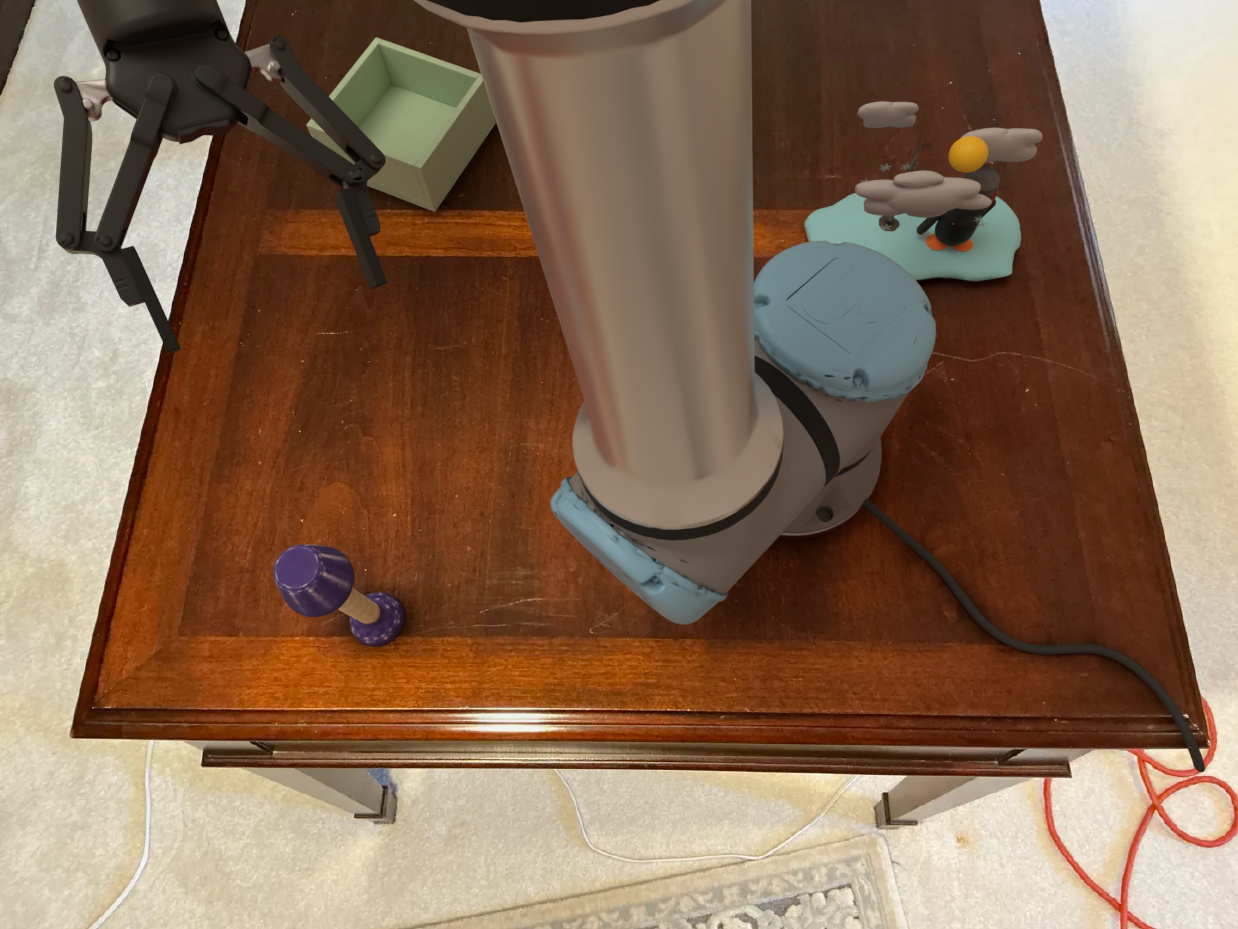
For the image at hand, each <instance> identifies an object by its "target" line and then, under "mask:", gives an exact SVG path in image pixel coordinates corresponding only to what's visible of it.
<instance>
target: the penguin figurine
mask: <svg viewBox="0 0 1238 929" xmlns="http://www.w3.org/2000/svg"><path fill="white" fill-rule="evenodd" d="M918 112H919V105H918V104H917V103H915V102H910V101H894V102H891V101H886V100H885V101H883V100H881V101H880V100H879V101H873V102H870V103H866V104H863V105H862V106H860V107H859V108H858V110H857V117H859V118H861V119H862V123H863V124H862V125H863V127H865V128H868V129H882V128H887V127H890V128H907V127H908V128H909V127H912V126H914V125H915V123H916V121H917V116H916V115H915V113H918ZM918 128H919V130H920V131H919V132H922V128H921V126H918ZM928 129H929V126H928V127H927V129H926V131H925V133H924V134H923V136H920V138H921V143H920V146H919V150H917V151H915V152H914V153H912V154H911V152H912V150H909V153H908V151H906V150H904V149H903V148H902V146H901V145H900V143H899V146H900V147H898V149H901V150H903V152H904V153H906V154H908V159H906V161H907V162H906V164H901V166H902V167H900V170H903V173H902V172H901V173H899V174H897V175H895V176H894V177H893V179H874V180H868V179H867V178H865V179H864V180H860V182H859V183H857V184H856V185H855V187H854V193H851V194H849V195H847V196H846V197H843V198H842V199H841V200H839V201H837V202H836V203H834V204H832V205H830V206H826V207H821V208H818V209H816V210H814V211H812V212H811V213H810V214H809V215H808V216H807V217H806V219H805V221H804V230H805V234H806V237H807V242H813V241H828V242H830V243H833V244H841V243H843V242H849V243H854V244H858V245H861V246H864V247H867V248H870V249H872V250H874V251H877V252H879V253H881V254H883V255H885V256H887V257H888V258H890V259H892V260H893V261H895V262H896V263H897V264H899V265H900V266H901V267H903V268H904V269H905V270H906V271H907V272H908V273H909V274H910V275H911V276H912V277H913V278H914V279H915V280H916V281H917V282H918V281H923V280H930V279H937V278H941V279H954V280H955V279H956V280H962V281H967V282H968V281H969V282H981V281H989V280H994V279H999V278H1001V279H1002V278H1005V277H1008V276H1010V275H1012V274H1013V262H1014V260H1015V259H1014V258H1015V254H1016V251H1017V250H1018V249H1019V248H1020V247H1021V242H1022V231H1021V223H1020V220H1019V218H1018V216H1017V215H1016V213H1015V212H1014V211H1013V209H1012V208H1011V207H1010V206H1009V204H1007V202H1006V201H1004V200H1003V199H1002V198H1000V197H998V196H997V190H996V189H997V188H998V186H999V183H1000V175H999V173H998V172H997V171H996V169H994V168H993V167H991V166H989V165H987V164H985V163H993V162H999V161H1000V162H1004V163H1019V162H1020V163H1021V162H1026V161H1029V160H1031V159H1033V158H1035V156H1036V154H1037V150H1038V148H1037V146H1036V144H1037V143H1041V142H1042V140H1043V133H1042V132H1041V131H1040V130H1038V129H1035V128H1022V127H1021V128H1018V127H1017V128H1015V127H1014V128H1003V127H985V128H980V129H975V130H971V131H968V132H966V133H965V134H963V135H962V136H961V137H960V138H959V139H957V140H956V141H955V142H953V144H952V145H951V147H950V149H949V151H948V156H947V158H948V162H949V164H950V166H951V168H952V169H954V170H955V171H957V172H959V173H963V174H964V175H963V177H953V176H951V177H950V176H943V175H942V174H940V173H939V172H937V171H932V170H920V169H922V168H924V169H927V165H926V166H924V165H923V164H924V163H926V160H923V163H922V164H921V166H920V165H918V162H920V160H918V158H919V156H920V154H921V152H922V149H924V147H927V146H928V147H930V149H931V150H933V151H934V149H933V148H931V146H932V147H933V146H934V144H932V143H933V142H934V141H936V139H937V137H939V135H940V134H939V135H937V137H935V138H934V139H933V140H931V141H930V142H928V143H927V142H925V143H924V140H925V135H926V133H927V131H928ZM908 144H909V145H908V146H911V145H910V143H908ZM911 156H912V157H913V159H912V163H911ZM890 168H891V165H888V163H885V164H884V165H882V164H881V167H880V168H879V169H878V171H881V172H882V173H884V171H890ZM913 168H914V169H913ZM906 170H907V171H906Z"/></svg>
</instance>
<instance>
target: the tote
mask: <svg viewBox="0 0 1238 929" xmlns="http://www.w3.org/2000/svg"><path fill="white" fill-rule="evenodd" d="M328 96H329V97H330V98H331V99H332V100H333V101H334V103H335V104H336V105H337V106H338V107H339V108H340V109H341V110H342V111H343V112H344V113H345V114H346V115H347V116H348V117H349V118H350V119H351V120H352V121H353V122H354V123H355V124H356V126H357V127H358V128H359V129H360V130H361V131H362V132H363V133H364V134H365V135H366V136H367V137H368V138H369V139H370V140H371V141H372V142H373V143H374V144H375V145H376V146H377V148H378V149H379V150H380V151H381V152H382V153H383V154H384V156H385V159H386V162H385V165H384V166H383V167H382V168H381V170H380V171H379V172H378V173H377V174H376V175H374V176H373V177H371V178H370V179H369V180H368V181H367V187H369V188H371V189H374V190H377V191H379V192H381V193H385V194H387V195H390V196H392V197H395V198H398V199H400V200H403V201H405V202H408V203H410V204H413V205H416V206H418V207H421V208H424V209H426V210H429V211H430V212H434V213H435V212H436V211H437V210H438V209H439V207H440V206H441V204H443V201H444V200H445V198H446V197H447V195H448V194H449V192H450V191H451V189H452V188H453V187H454V186H455V184H456V182H457V181H458V179H459V178H460V176H461V175H462V173H463V172H464V170H465V169H466V167H467V166H468V165H469V163H470V162H471V160H472V159H473V157H474V156H475V154H476V153H477V151H478V150H479V149H480V147H481V146H482V144H483V143H484V142H485V140H486V138H487V137H488V135H489V134H490V132H491V131H492V130H493V128H494V127H495V125H497V123H496V119H495V116H494V113H493V110H492V107H491V104H490V100H489V97H488V94H487V91H486V88H485V85H484V81H483V78H482V75H481V72H480V73H479V72H477V71H474V70H471V69H468V68H465V67H462V66H459V65H457V64H454V63H451V62H448V61H445V60H442V59H440V58H436V57H433V56H432V55H428V54H425V53H423V52H420V51H416V50H414V49H411V48H408V47H406V46H403V45H399V44H396V43H394V42H391V41H388V40H386V39H382V38H380V37H375V38H374V39H373V40H372V41H371V42H370V43H369V45H368V47H367V48H366V49H365V50H364V52H363V53H362V54H361V55H360V57H359V58H358V59H357V60H356V62H355V63H354V64H353V65H352V66H351V68H350V69H349V70H348V72H347V73H346V74H345V76H343V78H342V79H341V80H340V82H339V83H338V84H337V86H335V88H334V89H333V90H332V92H331V93H330V94H329V95H328ZM306 128H307V130H308V132H309V135H310V136H312V137H313V138H315V139H316V140H318V141H319V142H321V143H322V144H324V145H325V146H327V147H328V148H330V149H331V150H333V151H334V152H336V153H337V154H339V155H340V156H342V157H343V158H345V159H347V160H348V161H350V162H351V163H353V164H355V162H354V161H353V160H352V159H351V158H350V157H349V156H348V155H347V154H346V153H345V152H344V151H343V150H342V149H341V148H340V147H339V146H338V145H337V144H336V143H335V142H334V141H333V140H332V139H331V138H330V137H329V136H328V135H327V134H326V133H325V132H324V131H323V130H322V129H321V128H320V127H319V126H318V125H317V124H316V123H315V121H314V120H313V119H312V118H311V117H310V120H309V121H308V122H307V123H306Z"/></svg>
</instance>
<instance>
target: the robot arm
mask: <svg viewBox="0 0 1238 929" xmlns="http://www.w3.org/2000/svg"><path fill="white" fill-rule="evenodd" d="M413 1H414V2H415V3H416V4H418V5H419V6H421V7H422V8H424V9H425V10H427V11H429V12H430V13H432V14H434V15H437V16H439V17H441V18H444V19H445V20H448V21H450V22H452V23H454V24H457V25H459V26H461V27H464V28H466V31H467V34H468V37H469V40H470V43H471V47H472V50H473V52H474V56H475V58H476V63H477V66H478V68H479V72H480V74H481V75H482V78H483V81H484V85H485V88H486V91H487V94H488V97H489V100H490V104H491V107H492V110H493V113H494V117H495V122H496V126H497V128H498V132H499V135H500V137H501V142H502V145H503V148H504V151H505V154H506V157H507V160H508V163H509V166H510V169H511V174H512V176H513V179H514V182H515V185H516V189H517V193H518V195H519V198H520V201H521V205H522V208H523V211H524V214H525V218H526V221H527V224H528V227H529V231H530V234H531V236H532V240H533V242H534V246H535V249H536V252H537V256H538V259H539V262H540V265H541V268H542V271H543V275H544V277H545V281H546V284H547V288H548V289H549V293H550V297H551V299H552V303H553V306H554V310H555V312H556V316H557V319H558V322H559V325H560V328H561V332H562V335H563V338H564V341H565V344H566V347H567V351H568V355H569V357H570V360H571V363H572V366H573V369H574V372H575V376H576V380H577V382H578V385H579V388H580V389H579V390H580V391H581V395H582V398H583V402H582V403H581V405H580V407H579V410H578V412H577V415H576V417H575V422H574V425H573V430H572V431H573V432H572V434H571V435H572V438H571V440H572V445H571V446H572V447H571V448H572V454H573V460H574V465H575V468H576V470H577V471H576V473H574V474H573V475H572V476H567V477H565V478H564V479H563V480H561V483H560V487H559V488H558V489H557V490H556V491H555V493H554V494H553V495H552V496H551V498H550V509H551V512H552V513H553V515H554V516H555V518H556V519H557V521H559V523H561V525H562V526H563V527H564V528H565V529H566V530H567V531H568V532H569V533H570V535H572V536H573V537H574V539H575V540H576V541H578V542H579V543H580V544H581V545H582V546H583V547H584V548H585V549H586V550H587V551H588V552H589V554H591V556H593V557H594V558H595V559H596V560H597V561H598V562H599V563H600V564H601V565H602V566H604V567H605V568H606V569H607V570H608V572H610V573H611V574H612V575H613V576H614V577H616V578H617V580H619V581H620V583H622V584H623V585H624V586H626V587H627V588H628V589H629V590H630V591H631V592H632V593H633V594H635V595H636V596H638V598H639V599H641V600H642V601H643V602H644V603H646V604H647V605H648V606H649V607H650V608H652V609H653V610H654V611H655V612H657V613H658V614H659V615H660V616H662V617H663V618H665V619H666V620H668V621H669V622H672V623H673V624H678V625H683V626H684V625H690V624H693V623H695V622H697V621H699V620H700V619H701V618H702V617H704V616H705V615H706V613H708V612H709V611H710V610H711V609H713V608H714V607H715V606H716V605H717V604H718V603H721V602H723V601H725V600H726V599H727V597H728V595H729V591H730V590H731V588H733V587H734V586H735V584H737V582H738V581H739V580H740V579H741V578H742V577H743V576H744V574H745V573H746V572H747V571H749V569H751V567H753V565H754V564H755V563H756V562H757V561H758V560H759V558H761V557H762V556H763V554H764V553H765V552H766V551H767V550H768V549H769V548H770V547H771V546H772V544H773V543H774V542H775V541H776V540H780V541H802V540H803V541H804V540H810V539H815V538H818V537H822V536H825V535H827V534H830V533H832V532H834V531H836V530H837V529H840V528H841V527H843V526H844V525H845V524H847V523H848V522H849V521H850V520H851V519H853V518H854V517H855V516H856V515H857V514H858V513H859V511H861V509H862V508H864V509H865V510H866V511H867V512H868V513H870V515H872V516H873V517H874V518H876V520H878V521H879V522H880V523H881V524H882V525H883V526H885V527H886V528H887V529H888V530H890V532H892V533H893V534H894V535H895V536H896V537H898V538H899V539H900V540H901V541H902V543H905V545H907V546H908V547H909V548H910V549H911V550H913V551H914V552H915V553H916V554H917V555H918V556H920V557H921V558H922V559H923V560H924V561H925V562H926V563H927V564H928V565H929V566H930V567H931V568H932V569H933V570H934V571H935V572H936V573H937V574H938V575H939V576H940V577H941V579H942V580H943V581H944V583H945V584H946V586H948V588H949V589H950V590H951V592H952V593H953V595H954V596H955V597H956V599H957V600H958V602H960V604H961V605H962V607H963V608H964V609H965V611H966V613H968V614H969V616H970V617H971V618H972V619H973V620H974V621H975V622H976V623H977V624H978V625H979V626H980V627H981V628H982V629H983V630H984V631H985V632H986V633H987V634H989V635H990V636H992V637H993V638H994V639H995V640H998V641H999V642H1000V643H1002V644H1004V645H1005V646H1008V647H1010V648H1013V649H1015V650H1017V651H1021V652H1025V653H1029V654H1035V655H1068V654H1069V655H1070V654H1089V655H1090V654H1091V655H1098V656H1103V657H1106V658H1109V659H1112V660H1113V661H1116V662H1118V663H1119V664H1121V665H1123V666H1124V667H1126V668H1127V669H1129V670H1130V671H1132V672H1133V673H1134V674H1135V675H1136V676H1138V677H1139V678H1140V679H1141V680H1142V681H1143V682H1144V683H1145V684H1146V685H1147V686H1149V688H1150V689H1151V690H1152V691H1153V692H1154V693H1155V695H1156V696H1157V697H1158V698H1159V700H1160V702H1162V704H1163V706H1164V707H1165V708H1166V710H1167V712H1168V713H1169V714H1170V716H1171V717H1172V720H1173V721H1174V723H1175V725H1176V727H1177V729H1178V730H1179V733H1180V735H1181V737H1182V740H1183V741H1184V744H1185V746H1186V748H1187V751H1188V753H1189V756H1190V759H1191V760H1192V761H1191V762H1192V765H1193V768H1194V769H1195V770H1196V771H1197V772H1199V773H1205V771H1206V766H1205V765H1206V764H1205V762H1204V757H1203V755H1202V753H1201V750H1200V747H1199V745H1198V742H1197V740H1196V737H1195V735H1194V733H1193V731H1192V729H1191V727H1190V725H1189V723H1188V721H1187V720H1186V718H1185V716H1184V714H1183V713H1182V711H1181V709H1180V708H1179V706H1178V705H1177V703H1176V702H1175V700H1174V699H1173V698H1172V696H1171V695H1170V694H1169V692H1168V691H1167V690H1166V689H1165V687H1164V686H1163V685H1162V684H1161V683H1160V682H1159V681H1158V680H1157V679H1156V677H1154V676H1153V675H1152V673H1150V672H1149V671H1148V670H1147V669H1145V668H1144V667H1143V666H1142V665H1140V664H1139V662H1137V661H1135V660H1133V659H1132V658H1131V657H1130V656H1128V655H1126V654H1124V653H1122V652H1121V651H1118V650H1116V649H1113V648H1111V647H1107V646H1106V645H1105V646H1104V645H1100V644H1094V643H1063V644H1061V643H1060V644H1038V643H1030V642H1027V641H1023V640H1020V639H1017V638H1015V637H1013V636H1011V635H1009V634H1007V633H1005V632H1004V631H1003V630H1000V629H999V628H998V627H997V626H995V625H994V624H993V623H992V622H991V621H989V620H988V619H987V617H985V615H983V613H981V612H980V610H979V609H978V608H977V607H976V606H975V604H974V603H973V601H972V600H971V599H970V597H969V596H968V595H967V593H966V592H965V590H964V589H963V588H962V587H961V586H960V584H959V582H957V580H956V578H955V577H953V575H952V574H951V573H950V571H949V570H948V569H947V568H946V567H945V566H944V565H943V563H941V562H940V561H939V559H938V558H936V557H935V556H934V555H933V554H932V553H931V551H929V550H927V549H926V547H924V545H922V544H921V543H920V542H918V541H917V540H916V539H915V538H914V537H913V536H912V535H910V533H908V532H907V531H906V530H905V529H903V528H902V527H901V526H900V525H899V524H898V523H897V522H895V520H893V519H892V518H891V517H890V516H888V514H886V513H885V512H884V511H882V509H880V508H879V507H878V506H877V505H875V503H873V502H872V501H871V500H869V498H870V497H871V495H872V493H873V491H874V490H875V487H876V485H877V483H878V480H879V476H880V472H881V466H882V458H883V457H882V455H883V454H882V453H883V452H882V451H883V450H882V439H881V437H882V435H883V434H884V432H885V431H886V429H887V428H888V426H889V425H890V423H891V421H892V420H893V419H894V417H895V415H896V414H897V412H898V411H899V409H900V408H901V406H902V404H903V403H904V401H905V400H906V398H907V397H908V395H909V394H910V392H911V391H912V390H913V389H914V388H915V387H916V386H918V384H920V383H921V381H922V380H923V378H924V376H925V372H926V370H927V369H928V363H929V361H930V358H931V356H932V354H933V352H934V348H935V345H936V344H935V343H936V337H937V324H936V320H935V319H934V316H933V312H932V304H931V302H930V300H929V298H928V295H927V294H926V292H925V290H924V289H923V288H922V286H921V284H919V282H918V281H916V280H915V279H914V278H913V277H912V276H911V275H910V274H909V273H908V272H907V271H906V270H905V269H904V268H903V267H901V266H900V265H899V264H897V263H896V262H895V261H893V260H892V259H890V258H888V257H887V256H885V255H883V254H881V253H879V252H877V251H874V250H872V249H870V248H867V247H864V246H861V245H858V244H854V243H849V242H843V243H841V244H833V243H830V242H828V241H813V242H809V241H806V242H802V243H799V244H796V245H793V246H791V247H789V248H786V249H784V250H782V251H781V252H779V253H777V254H776V255H774V256H773V257H772V258H770V259H769V260H768V261H767V262H766V263H765V264H764V266H763V267H762V268H761V270H760V271H759V272H758V274H757V276H756V278H754V276H755V272H754V266H755V265H754V261H755V260H754V173H753V172H754V170H753V169H754V167H753V166H754V165H753V164H754V163H753V161H754V159H753V158H754V157H753V155H754V154H753V62H752V61H753V57H752V55H753V54H752V51H753V49H752V48H753V47H752V46H753V45H752V0H413ZM76 2H77V4H78V6H79V9H80V11H81V14H82V16H83V18H84V20H85V23H86V25H87V27H88V30H89V32H90V34H91V37H92V38H93V41H94V43H95V46H96V48H97V50H98V52H99V55H100V57H101V59H102V61H103V64H104V67H105V76H104V79H102V78H101V79H92V80H80V81H75V79H73V78H72V77H70V76H68V75H61V76H58V77H56V78H55V79H54V81H53V89H54V93H55V95H56V98H57V101H58V104H59V108H60V111H61V113H62V117H63V125H62V138H61V139H62V140H61V152H60V153H61V155H60V167H59V168H60V169H59V181H58V183H59V184H58V197H57V210H56V211H57V212H56V223H55V224H56V227H55V242H56V243H57V245H59V247H61V248H62V249H63V250H64V251H66V253H68V254H70V255H93V256H96V257H98V258H100V259H101V260H102V262H103V264H104V266H105V268H106V270H107V273H108V275H109V277H110V279H111V281H112V284H113V286H114V288H115V290H116V293H117V294H118V297H119V298H120V300H121V301H122V302H123V303H124V304H126V306H128V308H130V307H131V308H132V307H134V306H138V305H140V304H145V306H146V308H147V311H148V313H149V315H150V317H151V320H152V321H153V324H154V326H155V329H156V330H157V333H158V334H159V338H160V340H161V341H162V343H163V346H164V348H165V350H166V353H168V354H172V353H175V352H178V351H180V350H182V349H181V346H180V344H179V342H178V340H177V338H176V335H175V332H174V331H173V328H172V326H171V324H170V321H169V320H168V317H167V315H166V313H165V311H164V309H163V306H162V304H161V302H160V299H159V297H158V295H157V293H156V291H155V289H154V286H153V284H152V282H151V279H150V277H149V275H148V273H147V271H146V268H145V266H144V264H143V262H142V260H141V258H140V256H139V253H138V251H137V249H136V247H135V246H134V245H130V246H127V247H123V245H124V242H125V240H126V236H127V234H128V230H129V228H130V225H131V223H132V220H133V218H134V215H135V213H136V210H137V206H138V204H139V201H140V199H141V196H142V194H143V190H144V187H145V185H146V182H147V180H148V177H149V174H150V171H151V168H152V166H153V165H154V164H153V163H154V161H155V159H156V157H157V156H158V153H159V150H160V148H161V145H162V142H163V140H164V139H165V140H166V141H169V142H172V143H178V144H179V145H183V144H188V143H192V142H194V141H196V140H198V139H200V138H201V137H203V136H208V137H209V136H211V137H213V136H214V137H217V136H218V137H219V136H222V135H226V134H230V131H231V130H233V129H234V128H235V127H237V125H238V124H239V125H240V126H242V127H243V128H245V129H246V130H248V131H249V132H251V133H253V134H255V135H258V136H260V137H262V138H264V139H265V140H267V141H268V142H270V143H271V144H272V145H274V146H276V147H277V148H279V149H280V150H283V151H284V152H285V153H287V154H288V155H290V156H291V157H293V158H295V159H296V160H297V161H299V162H301V163H302V164H304V165H305V166H307V167H308V168H310V169H311V170H314V171H315V172H316V173H318V174H319V175H321V176H322V177H324V178H325V179H327V180H329V181H330V182H331V183H333V184H335V185H336V186H338V187H339V188H340V190H339V191H338V192H337V194H336V195H335V196H334V201H335V203H336V207H337V208H338V211H339V213H340V216H341V219H342V221H343V224H344V227H345V229H346V232H347V234H348V237H349V239H350V241H351V244H352V247H353V250H354V252H355V254H356V258H357V260H358V263H359V266H360V267H361V270H362V273H363V275H364V279H365V280H366V283H367V285H368V288H369V290H370V291H371V290H373V289H377V288H379V287H382V286H384V285H386V284H387V283H388V280H387V278H386V275H385V272H384V270H383V267H382V265H381V262H380V259H379V257H378V255H377V252H376V249H375V247H374V244H373V241H372V238H371V237H373V236H376V235H378V234H379V233H381V221H380V218H379V216H378V213H377V210H376V208H375V205H374V202H373V200H372V198H371V194H370V192H369V190H368V186H367V181H368V180H369V179H370V178H371V177H373V176H374V175H376V174H377V173H378V172H379V171H380V170H381V168H382V167H383V166H384V165H385V162H386V159H385V156H384V154H383V153H382V152H381V151H380V150H379V149H378V148H377V146H376V145H375V144H374V143H373V142H372V141H371V140H370V139H369V138H368V137H367V136H366V135H365V134H364V133H363V132H362V131H361V130H360V129H359V128H358V127H357V126H356V124H355V123H354V122H353V121H352V120H351V119H350V118H349V117H348V116H347V115H346V114H345V113H344V112H343V111H342V110H341V109H340V108H339V107H338V106H337V105H336V104H335V103H334V101H333V100H332V99H331V98H330V97H329V96H330V95H328V94H327V93H326V92H325V91H324V90H323V89H322V88H321V87H320V86H319V85H318V84H317V82H316V81H315V80H314V79H313V78H312V77H311V76H310V75H309V74H308V72H306V71H305V70H304V69H303V68H302V66H301V64H300V62H299V60H298V58H297V56H296V53H295V52H294V50H293V48H292V46H291V44H290V42H289V40H288V38H286V37H284V36H283V35H281V34H274V35H272V36H271V37H270V39H269V43H267V44H265V45H262V46H258V47H255V48H252V49H249V50H246V51H244V50H243V49H242V48H241V47H240V46H239V45H238V44H237V43H236V41H235V40H234V39H233V37H232V35H231V32H230V30H229V27H228V25H227V22H226V20H225V17H224V15H223V12H222V10H221V7H220V4H219V2H218V0H76ZM253 72H256V73H260V74H262V75H263V76H264V77H265V79H266V80H268V81H269V82H271V83H274V84H277V83H279V84H280V86H281V88H283V89H284V91H285V93H286V94H287V95H288V96H289V97H290V99H292V100H293V102H295V104H297V105H298V106H299V107H300V108H301V110H303V111H304V112H305V114H306V115H307V116H308V117H309V118H310V119H311V118H312V119H313V120H314V121H315V123H316V124H317V125H318V126H319V127H320V128H321V129H322V130H323V131H324V132H325V133H326V134H327V135H328V136H329V137H330V138H331V139H332V140H333V141H334V142H335V143H336V144H337V145H338V146H339V147H340V148H341V149H342V150H343V151H344V152H345V153H346V154H347V155H348V156H349V157H350V158H351V159H352V160H353V161H354V162H355V164H353V163H351V162H350V161H348V160H347V159H345V158H343V157H342V156H340V155H339V154H337V153H336V152H334V151H333V150H331V149H330V148H328V147H327V146H325V145H324V144H322V143H321V142H319V141H318V140H316V139H315V138H313V137H312V136H311V134H310V133H308V132H306V131H304V130H303V129H301V128H300V127H298V126H297V125H296V124H294V123H292V122H291V121H289V120H287V119H286V117H284V116H282V115H280V114H279V113H277V112H276V111H274V110H273V109H272V108H271V107H270V106H269V105H268V104H267V103H266V102H265V101H263V100H262V99H260V98H259V97H257V96H256V95H254V94H253V93H252V92H249V91H248V88H249V85H250V81H251V77H252V73H253ZM108 102H112V103H113V104H114V105H115V106H117V107H118V108H120V109H121V110H123V111H124V112H125V113H127V114H128V115H130V116H131V117H132V118H134V119H135V122H134V125H133V128H132V130H131V134H130V137H129V138H130V139H129V142H128V145H127V148H126V150H125V153H124V155H123V159H122V161H121V164H120V167H119V169H118V172H117V175H116V178H115V180H114V183H113V185H112V188H111V191H110V193H109V195H108V198H107V202H106V204H105V207H104V209H103V213H102V215H101V218H100V220H99V223H98V226H97V229H96V230H87V224H88V211H89V210H88V209H89V197H90V196H89V195H90V181H91V169H92V168H91V166H92V156H93V155H92V154H93V153H92V152H93V128H92V123H93V122H94V123H95V122H97V121H99V120H100V119H102V116H103V107H104V105H105V104H106V103H108ZM1188 747H1191V748H1188Z"/></svg>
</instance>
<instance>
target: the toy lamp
mask: <svg viewBox="0 0 1238 929" xmlns="http://www.w3.org/2000/svg"><path fill="white" fill-rule="evenodd" d="M273 579H274V582H275V585H276V587H277V589H278V591H279V593H280V595H281V596H282V599H283V601H284V602H285V603H286V605H287V606H288V607H289V608H290V609H291V610H292V611H293V612H295V613H297V614H298V615H301V616H303V617H307V618H320V617H325V616H328V615H330V614H332V613H335V612H336V611H340V612H342V613H344V614H345V615H347V616H349V620H348V621H349V628H350V631H351V634H352V635H353V637H354V638H355V639H356V640H357V641H358V642H359V643H361V644H362V645H364V646H368V647H375V648H376V647H382V646H384V645H387V644H389V643H391V642H392V641H393V640H395V638H396V637H398V636H399V635H400V632H401V631H402V629H403V627H404V623H405V609H404V607H403V605H402V603H401V602H400V601H399V599H398V598H397V597H395V596H393V595H392V594H390V593H388V592H382V591H381V592H380V591H379V592H378V591H377V592H371V593H367V594H366V595H365V594H363V593H361V592H359V591H358V590H357V589H356V588H354V585H355V570H354V567H353V564H352V562H351V561H350V559H349V557H347V555H346V554H345V553H343V552H342V551H341V550H339V549H337V548H336V547H332V546H329V545H321V544H308V543H307V544H306V543H305V544H296V545H292V546H290V547H288V548H286V549H285V550H284V551H282V553H280V555H279V556H278V557H277V559H276V561H275V563H274V565H273Z"/></svg>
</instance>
